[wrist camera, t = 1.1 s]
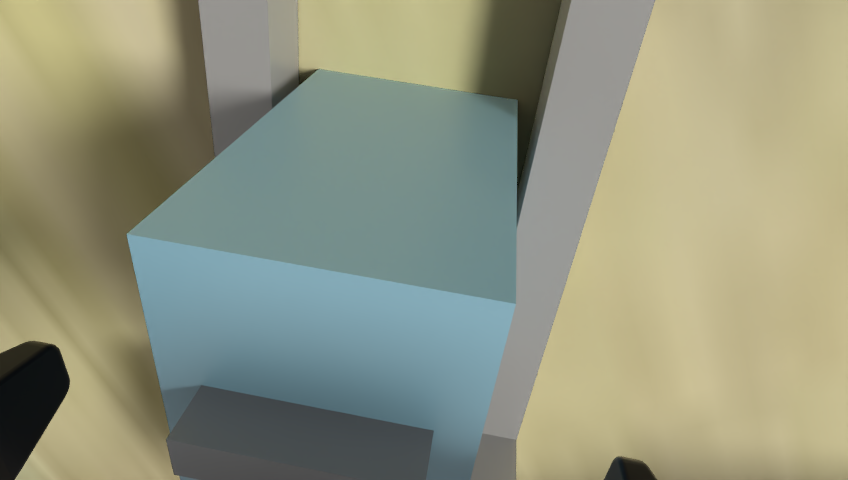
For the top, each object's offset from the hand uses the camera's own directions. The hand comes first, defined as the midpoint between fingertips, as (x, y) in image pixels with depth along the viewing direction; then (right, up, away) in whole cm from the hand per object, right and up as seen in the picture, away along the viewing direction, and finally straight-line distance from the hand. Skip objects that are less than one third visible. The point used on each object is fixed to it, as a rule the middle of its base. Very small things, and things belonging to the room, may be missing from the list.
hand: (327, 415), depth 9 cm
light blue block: (+1, +4, +7) cm, 8 cm away
